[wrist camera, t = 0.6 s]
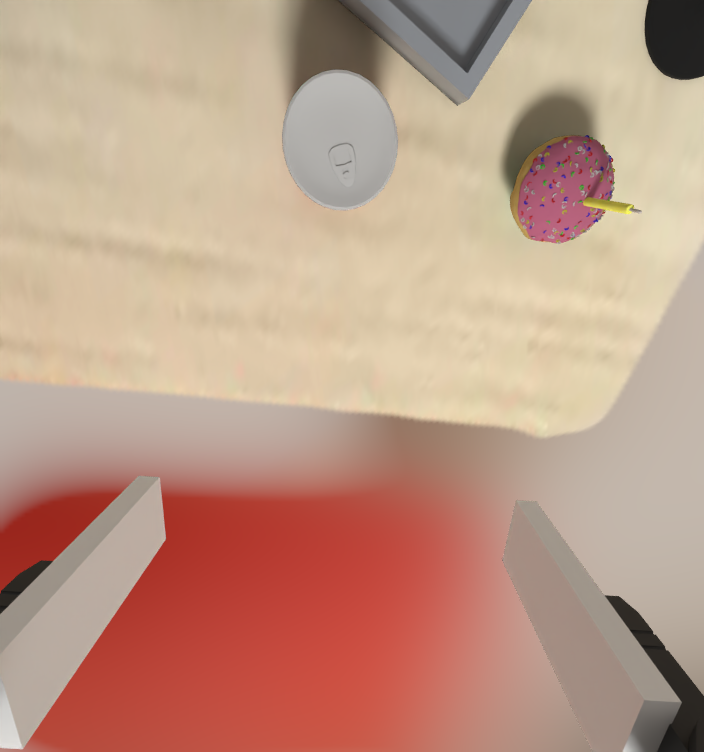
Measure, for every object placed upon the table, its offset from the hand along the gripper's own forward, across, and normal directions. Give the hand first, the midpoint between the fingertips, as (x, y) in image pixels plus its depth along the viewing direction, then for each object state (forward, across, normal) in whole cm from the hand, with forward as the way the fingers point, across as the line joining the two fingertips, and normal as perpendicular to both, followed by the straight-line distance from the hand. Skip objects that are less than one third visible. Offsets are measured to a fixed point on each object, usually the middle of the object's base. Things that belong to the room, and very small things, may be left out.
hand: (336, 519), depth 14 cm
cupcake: (+29, +17, +16) cm, 38 cm away
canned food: (+27, -2, +18) cm, 33 cm away
